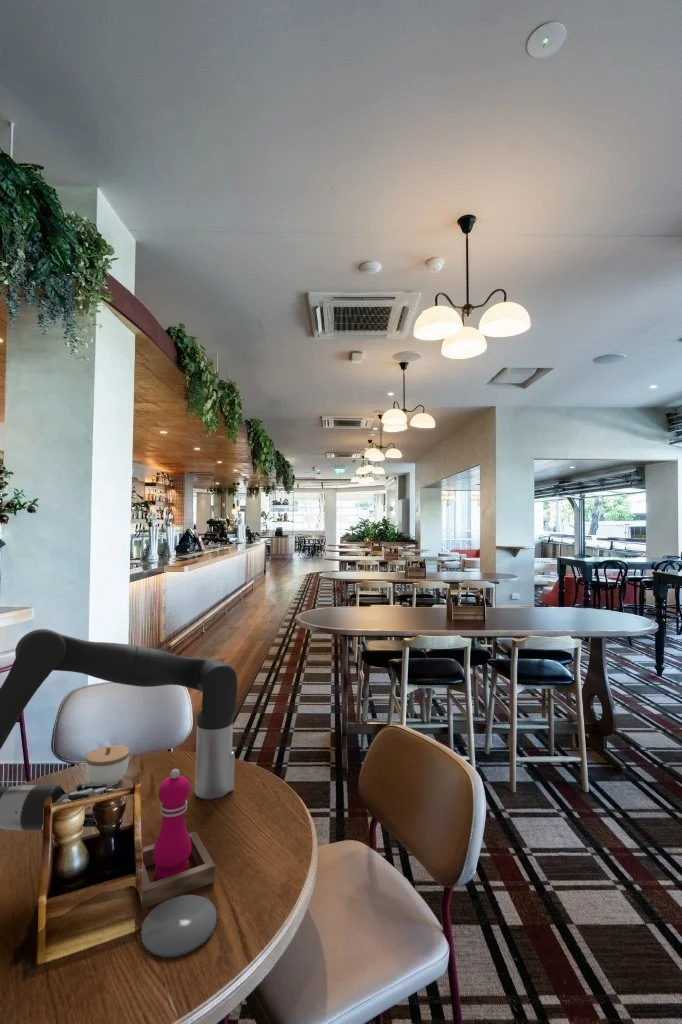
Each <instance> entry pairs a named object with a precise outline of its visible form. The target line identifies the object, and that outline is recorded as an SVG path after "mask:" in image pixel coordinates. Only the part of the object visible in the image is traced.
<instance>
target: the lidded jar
mask: <svg viewBox="0 0 682 1024" xmlns="http://www.w3.org/2000/svg"><path fill="white" fill-rule="evenodd" d="M130 752H131V750H130V748H129V747H128V746H126V745H119V744H114V745H113V744H112V745H110V744H109V745H106V746H101V747H97V748H95V749H93V750H91V751H89V752H88V753H86V756H85V771H86V776H87V779H88V780H89V782H90V783H107V789H108V788H111V787H113V786H112V785H114V786H115V784H116V785H117V784H118V783H119V782H120V780H121V779H122V778H123V777H124V775H125V774H126V772H127V770H128V766H129V761H130V754H131V753H130Z"/></svg>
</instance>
